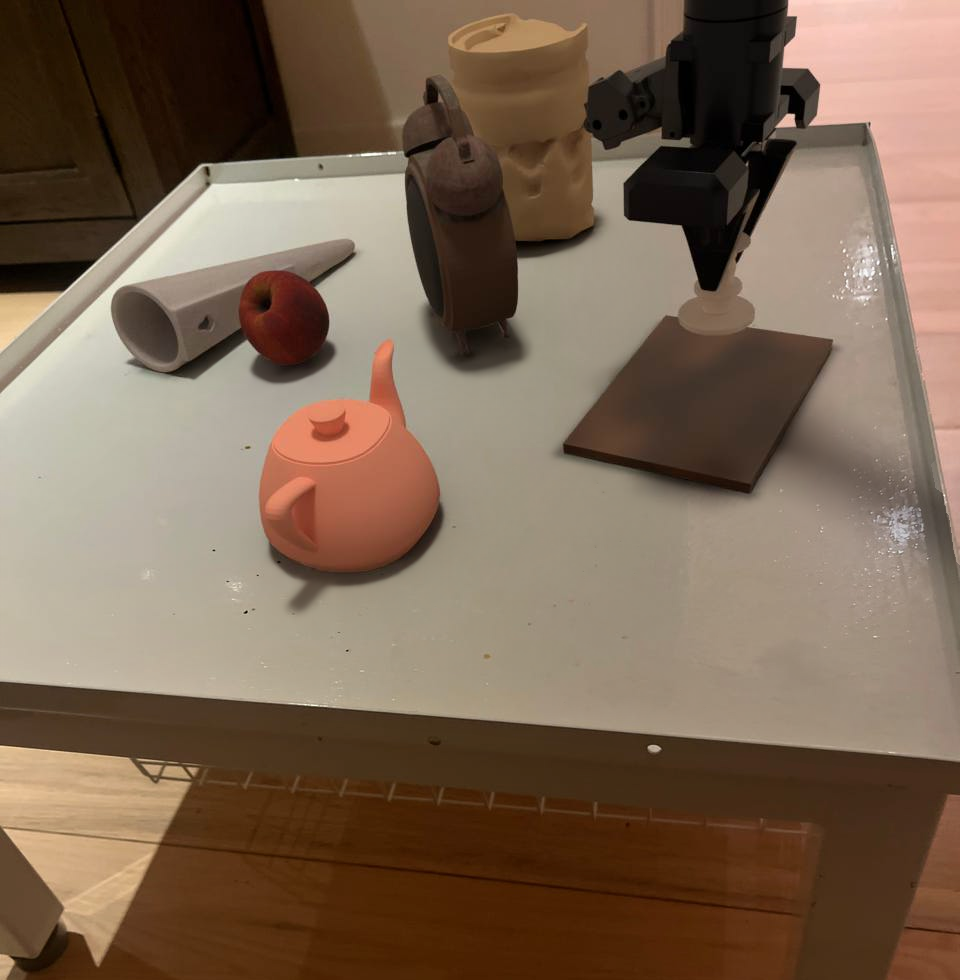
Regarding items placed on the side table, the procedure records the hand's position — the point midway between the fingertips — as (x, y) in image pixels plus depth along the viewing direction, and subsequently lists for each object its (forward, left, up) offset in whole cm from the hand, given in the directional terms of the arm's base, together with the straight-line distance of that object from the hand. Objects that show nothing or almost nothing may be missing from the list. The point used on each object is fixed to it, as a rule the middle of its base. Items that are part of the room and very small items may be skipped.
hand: (719, 276), depth 65 cm
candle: (0, 0, -3) cm, 3 cm away
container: (+28, -25, -11) cm, 39 cm away
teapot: (+18, +21, -11) cm, 30 cm away
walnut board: (+1, -1, -11) cm, 11 cm away
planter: (+48, -3, -11) cm, 49 cm away
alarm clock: (+24, -5, -11) cm, 27 cm away
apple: (+37, +4, -11) cm, 39 cm away
